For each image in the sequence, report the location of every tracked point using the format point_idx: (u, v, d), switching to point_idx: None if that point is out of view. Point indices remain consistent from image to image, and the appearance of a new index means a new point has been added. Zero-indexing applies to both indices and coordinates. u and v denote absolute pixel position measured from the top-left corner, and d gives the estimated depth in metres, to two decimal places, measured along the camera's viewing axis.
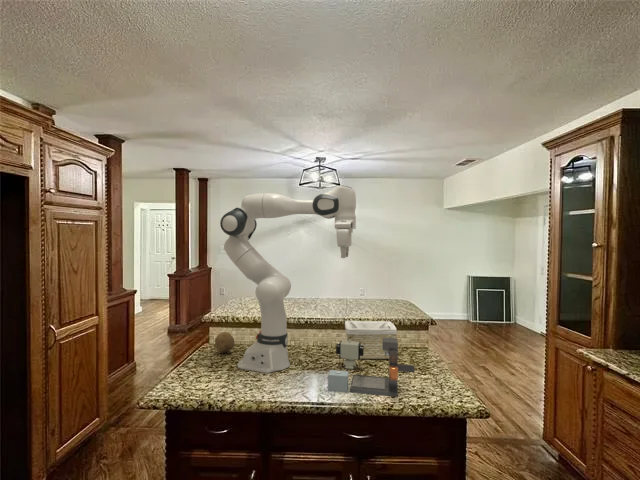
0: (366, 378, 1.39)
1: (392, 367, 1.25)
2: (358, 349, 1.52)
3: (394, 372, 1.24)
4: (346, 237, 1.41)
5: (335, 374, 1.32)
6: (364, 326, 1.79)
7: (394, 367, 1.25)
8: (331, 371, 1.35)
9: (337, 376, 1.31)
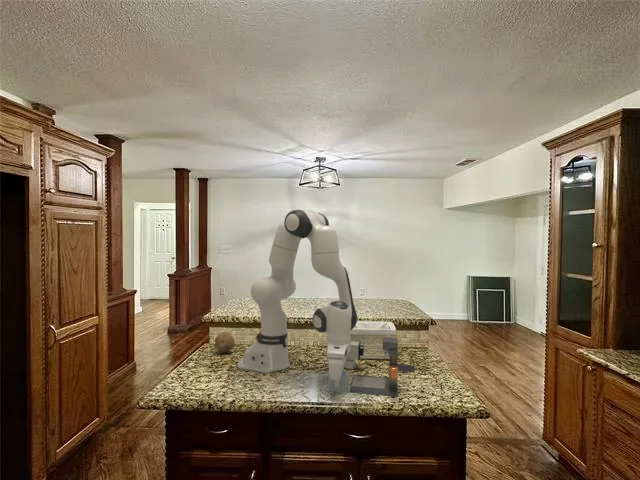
0: (366, 378, 1.39)
1: (392, 367, 1.25)
2: (358, 349, 1.52)
3: (394, 372, 1.24)
4: (339, 370, 1.23)
5: None
6: (365, 326, 1.79)
7: (394, 367, 1.25)
8: None
9: None
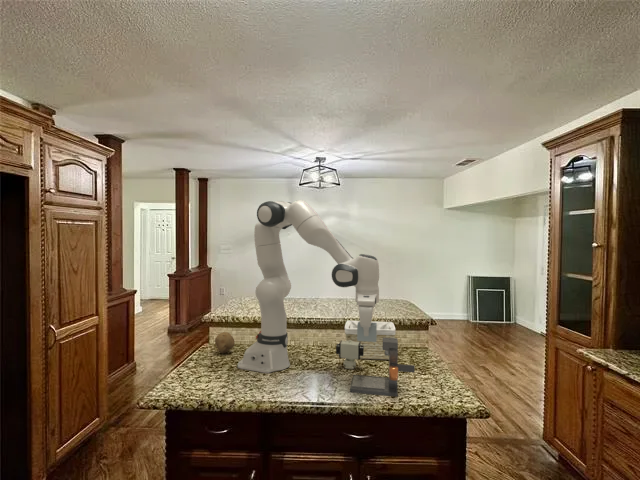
0: (366, 378, 1.39)
1: (392, 367, 1.25)
2: (358, 349, 1.52)
3: (394, 372, 1.24)
4: (370, 317, 1.26)
5: None
6: None
7: (394, 367, 1.25)
8: None
9: None
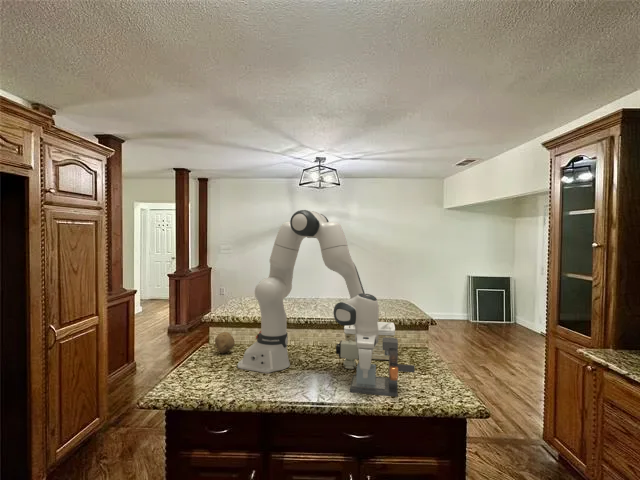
0: None
1: (392, 367, 1.25)
2: None
3: (394, 372, 1.24)
4: (369, 360, 1.26)
5: None
6: None
7: (394, 367, 1.25)
8: None
9: None
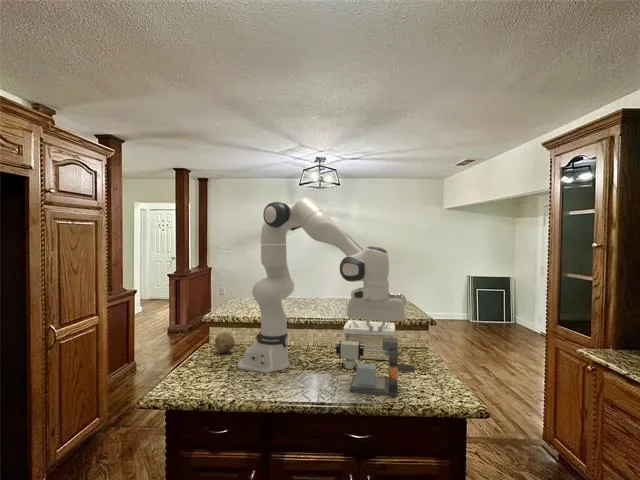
0: None
1: (392, 367, 1.25)
2: (358, 349, 1.52)
3: (394, 372, 1.24)
4: None
5: (363, 367, 1.35)
6: (366, 326, 1.79)
7: (394, 367, 1.25)
8: (359, 364, 1.38)
9: (365, 369, 1.34)
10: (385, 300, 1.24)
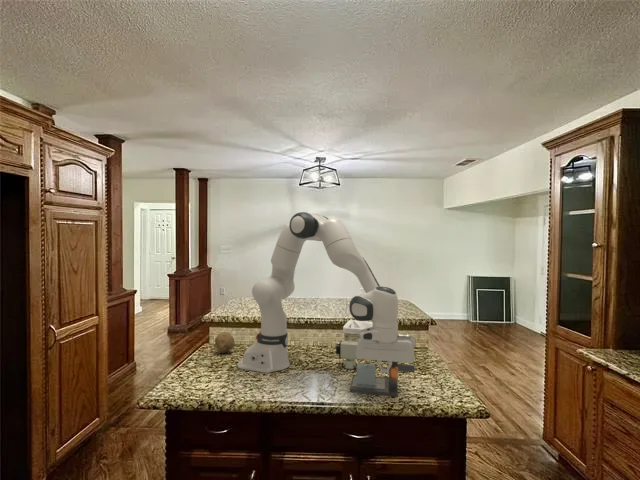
0: None
1: (392, 367, 1.25)
2: None
3: (394, 372, 1.24)
4: None
5: (363, 367, 1.35)
6: (367, 326, 1.79)
7: (394, 367, 1.25)
8: (359, 364, 1.38)
9: (365, 369, 1.34)
10: (394, 342, 1.24)
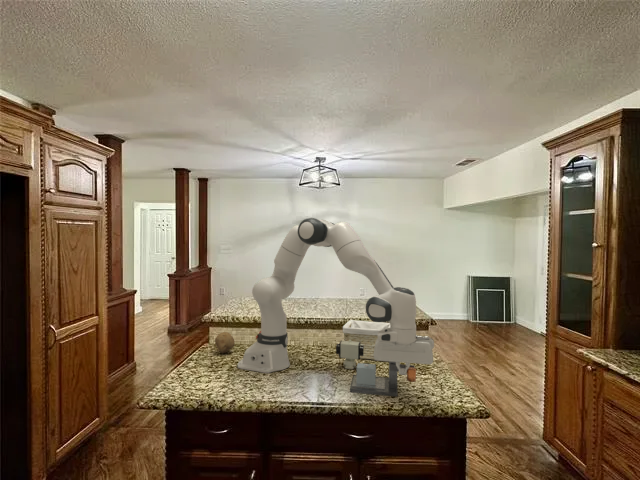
0: None
1: (410, 368, 1.24)
2: (358, 349, 1.52)
3: (412, 373, 1.23)
4: (374, 349, 1.25)
5: (363, 367, 1.35)
6: (367, 326, 1.79)
7: (412, 368, 1.24)
8: (359, 364, 1.38)
9: (365, 369, 1.34)
10: (413, 343, 1.22)
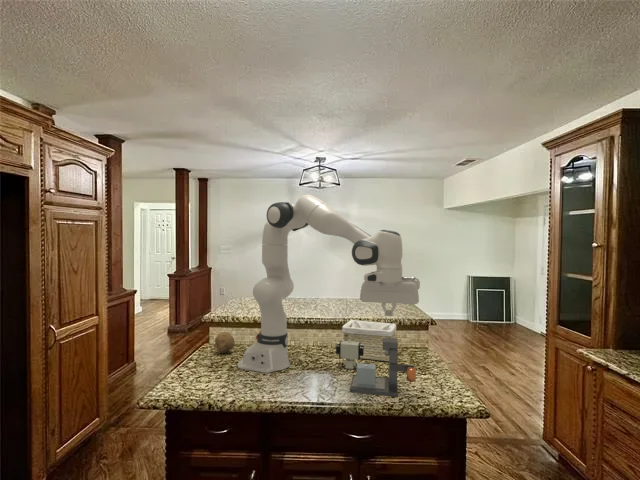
0: None
1: (410, 368, 1.24)
2: (358, 349, 1.52)
3: (412, 373, 1.23)
4: None
5: (363, 367, 1.35)
6: (368, 327, 1.79)
7: (412, 368, 1.24)
8: (359, 364, 1.38)
9: (365, 369, 1.34)
10: (399, 283, 1.23)
